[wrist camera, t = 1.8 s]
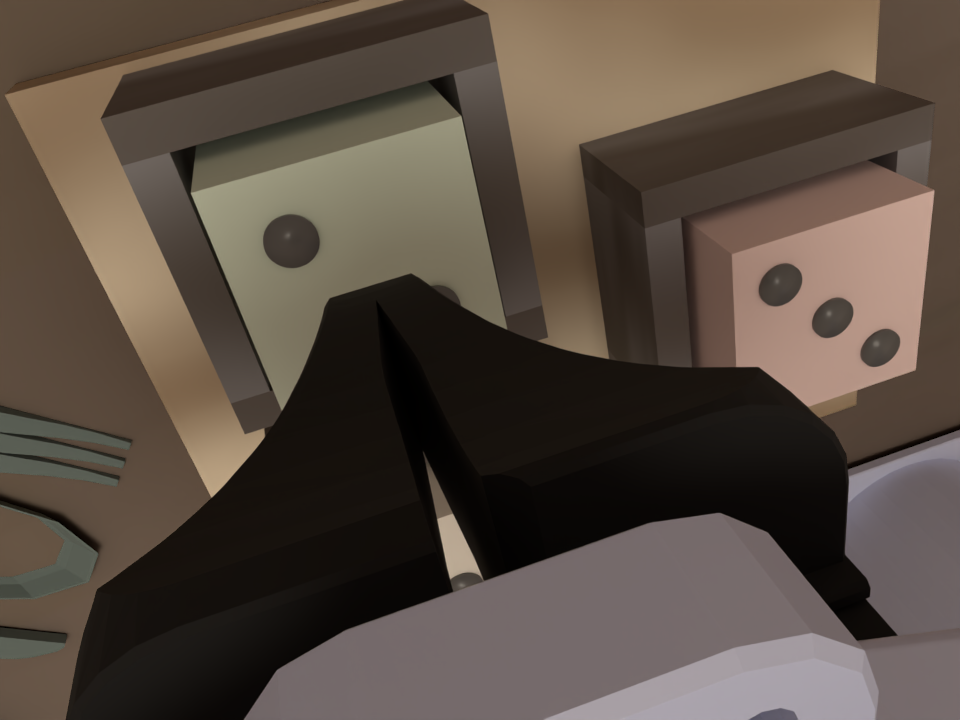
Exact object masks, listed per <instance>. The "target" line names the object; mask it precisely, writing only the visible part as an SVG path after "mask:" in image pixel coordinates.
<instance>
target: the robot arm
mask: <svg viewBox="0 0 960 720" xmlns="http://www.w3.org/2000/svg"><path fill="white" fill-rule="evenodd" d="M423 452H424V453H423ZM424 454H425V456H426V458H427V460H428V462H429V465H430V467H431V469H432V471H433V473H434V475H435V477H436V479H437V481H438V484H439V486H440V488H441V490H442V492H443V494H444V496H445V498H446V500H447V502H448V504H449V507H450V509H451V511H452V513H453V515H454V517H455V519H456V521H457V523H458V525H459V527H460V529H461V532H462V534H463V536H464V538H465V540H466V542H467V544H468V546H469V548H470V550H471V552H472V555H473V557H474V559H475V561H476V563H477V566H478V568H479V571H480V573H481V575H482V578H483V580H484V581H482V582H480V583H477V584H474V585H471V586H468V587H465V588H463V589H460V590H457V591H454V592H453V589H452V585H451V581H450V577H449V573H448V569H447V564H446V560H445V555H444V550H443V545H442V540H441V535H440V530H439V525H438V521H437V516H436V511H435V506H434V501H433V496H432V491H431V487H430V482H429V477H428V472H427V467H426V463H425V458H424ZM66 720H960V430H958V431H955V432H952V433H950V434H947V435H944V436H941V437H938V438H935V439H933V440H930V441H927V442H924V443H921V444H918V445H916V446H913V447H910V448H907V449H904V450H902V451H899V452H896V453H893V454H890V455H887V456H885V457H882V458H879V459H876V460H873V461H870V462H868V463H865V464H862V465H859V466H856V467H854V468H851V469H848V466H847V457H846V453H845V451H844V449H843V447H842V446H841V444H840V442H839V440H838V438H837V436H836V434H835V432H834V431H833V430H832V429H831V428H830V427H828V426H827V425H826V424H825V423H824V422H823V421H822V420H821V419H820V418H819V417H818V416H817V415H815V414H814V413H813V412H812V411H811V410H810V409H809V408H808V407H807V406H806V405H805V404H804V403H803V402H802V401H801V400H800V399H798V398H797V397H796V396H795V395H794V394H793V393H792V392H791V391H789V390H788V389H787V388H786V387H784V386H783V385H782V384H780V383H779V382H778V381H776V380H775V379H774V378H773V377H771V376H770V375H769V374H767V373H766V372H765V371H763V370H762V369H761V368H760V367H674V366H662V365H649V364H639V363H631V362H624V361H617V360H611V359H606V358H601V357H596V356H591V355H585V354H580V353H576V352H572V351H568V350H564V349H561V348H557V347H554V346H551V345H548V344H545V343H542V342H538V341H535V340H532V339H529V338H526V337H524V336H521V335H519V334H516V333H514V332H511V331H509V330H507V329H505V328H502V327H500V326H498V325H496V324H493V323H491V322H489V321H487V320H485V319H483V318H482V317H480V316H478V315H476V314H475V313H473V312H471V311H469V310H467V309H466V308H464V307H462V306H461V305H459V304H457V303H456V302H454V301H452V300H451V299H449V298H448V297H446V296H445V295H443V294H442V293H440V292H439V291H437V290H436V289H434V288H433V287H431V286H430V285H429V284H427V283H426V282H425V281H423V280H422V279H421V278H419V277H417V276H415V275H413V274H412V273H410V274H407V275H403V276H400V277H397V278H394V279H390V280H387V281H384V282H381V283H377V284H374V285H371V286H368V287H364V288H361V289H358V290H354V291H351V292H348V293H345V294H341V295H338V296H335V297H332V298H329V300H328V302H327V303H326V305H325V307H324V311H323V315H322V319H321V323H320V326H319V329H318V332H317V335H316V338H315V341H314V344H313V346H312V349H311V351H310V354H309V356H308V359H307V361H306V364H305V366H304V369H303V371H302V373H301V375H300V377H299V379H298V381H297V383H296V385H295V387H294V389H293V391H292V393H291V395H290V397H289V399H288V401H287V403H286V405H285V406H284V408H283V410H282V412H281V413H280V415H279V417H278V418H277V420H276V422H275V423H274V425H273V426H272V427H271V429H270V430H269V432H268V433H267V435H266V436H265V437H264V439H263V440H262V442H261V443H260V444H259V445H258V447H257V448H256V449H255V450H254V452H253V453H252V454H251V455H250V456H249V457H248V458H247V460H246V461H245V462H244V463H243V464H242V465H241V466H240V468H239V469H238V470H237V471H236V472H235V473H234V474H233V476H232V477H231V478H230V479H229V480H228V481H227V482H226V484H225V485H224V486H223V487H222V488H221V489H220V490H219V491H218V492H217V493H216V494H215V495H214V496H213V497H212V498H211V499H210V500H209V501H208V502H207V503H206V504H205V505H204V506H203V507H202V508H201V509H199V510H198V511H197V512H196V513H195V514H194V515H193V516H192V517H191V518H189V519H188V520H187V521H186V522H185V523H184V524H183V525H181V526H180V527H179V528H178V529H177V530H176V531H175V532H173V533H172V534H171V535H170V536H169V537H167V538H166V539H165V540H164V541H162V542H161V543H160V544H159V545H157V546H156V547H155V548H153V549H152V550H151V551H149V552H148V553H147V554H145V555H144V556H143V557H141V558H140V559H138V560H137V561H136V562H134V563H133V564H132V565H130V566H129V567H128V568H126V569H125V570H124V571H122V572H121V573H120V574H118V575H117V576H116V577H114V578H113V579H112V580H110V581H109V582H107V583H106V584H104V585H103V586H101V587H100V588H98V589H97V591H96V595H95V598H94V602H93V605H92V608H91V611H90V614H89V617H88V621H87V624H86V627H85V630H84V633H83V637H82V641H81V645H80V650H79V654H78V658H77V663H76V668H75V673H74V679H73V684H72V689H71V695H70V700H69V705H68V711H67V716H66Z"/></svg>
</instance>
